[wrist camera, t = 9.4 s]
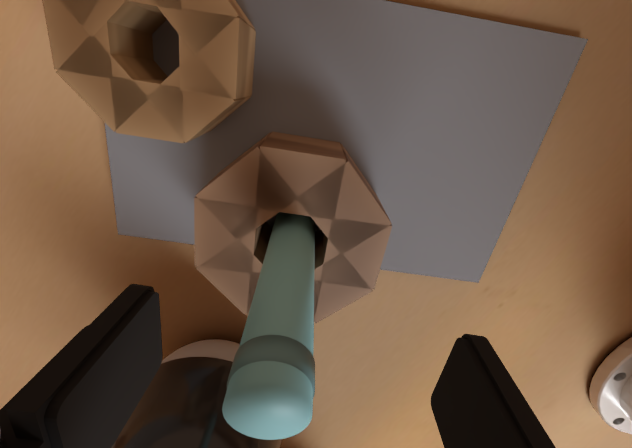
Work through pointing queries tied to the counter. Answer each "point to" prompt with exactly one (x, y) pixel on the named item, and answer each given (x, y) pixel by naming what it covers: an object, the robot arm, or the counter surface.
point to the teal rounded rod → (277, 339)
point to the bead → (295, 198)
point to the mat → (372, 122)
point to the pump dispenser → (188, 403)
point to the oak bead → (143, 72)
